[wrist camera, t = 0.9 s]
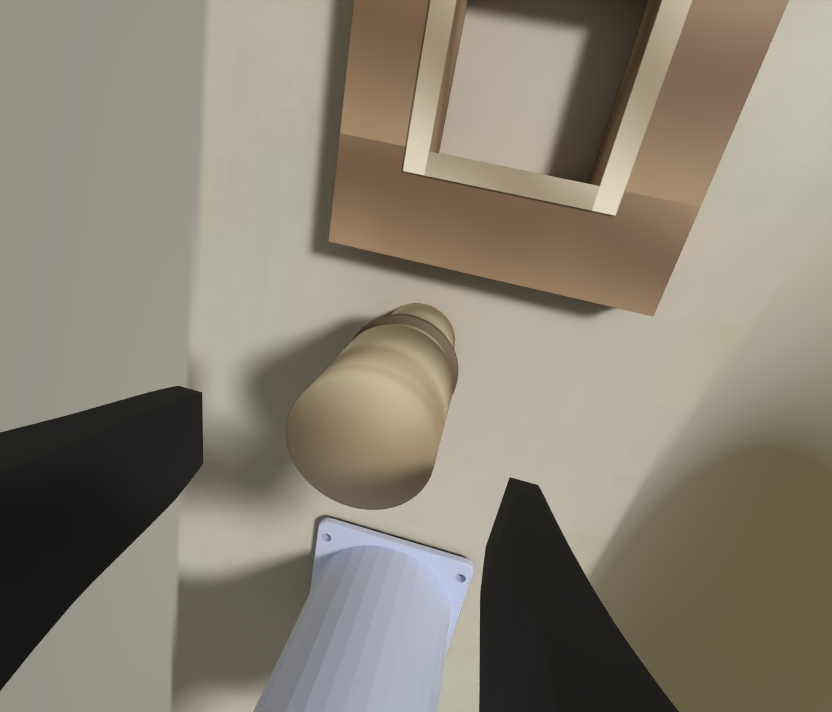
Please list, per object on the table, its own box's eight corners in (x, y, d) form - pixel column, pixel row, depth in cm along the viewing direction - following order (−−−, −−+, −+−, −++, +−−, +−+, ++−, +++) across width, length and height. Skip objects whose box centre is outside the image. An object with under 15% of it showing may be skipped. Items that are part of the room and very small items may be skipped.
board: (636, 300, 16) (654, 317, 14) (347, 234, 17) (327, 241, 15) (820, -151, 11) (884, -218, 9) (400, -202, 12) (381, -271, 10)
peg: (454, 391, 19) (419, 528, 12) (366, 368, 19) (280, 487, 12) (476, 304, 17) (453, 399, 10) (380, 281, 18) (289, 357, 10)
